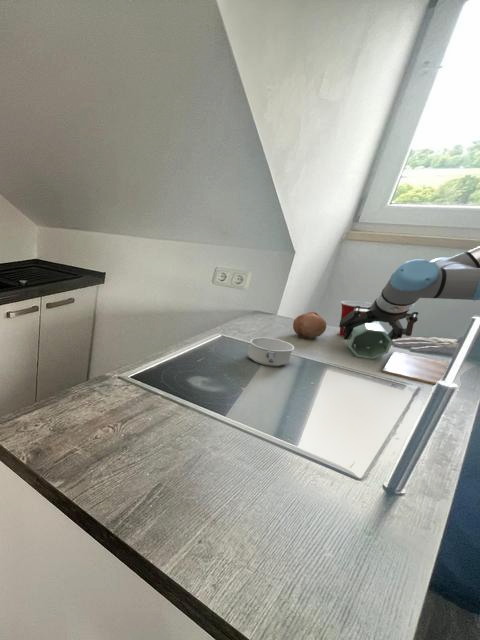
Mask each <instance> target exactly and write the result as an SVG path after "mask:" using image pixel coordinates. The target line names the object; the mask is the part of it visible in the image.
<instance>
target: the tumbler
mask: <svg viewBox="0 0 480 640" xmlns="http://www.w3.org/2000/svg"><path fill="white" fill-rule="evenodd" d="M346 343H347V346H348V349H349V350H351V353H353V355H354V356H356V358H363V359H370V360H374V359H377V358H379V357H381V356H384V355H387V354H388V353H389V351H390V349H391V347H392V345H393V340H392V339H391V338H390V336H389V332H388V331H387V330H386V329H385V327H384V326H383V325H382V324H381V323H380V321H374V322H371V323H365V324H362V325H360V326H357V327H355V328H353V331H352V333H351V334H350V335H349V337H348V338H347V340H346Z"/></svg>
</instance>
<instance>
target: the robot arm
mask: <svg viewBox="0 0 480 640" xmlns="http://www.w3.org/2000/svg"><path fill="white" fill-rule="evenodd" d="M419 299H438V300H439V299H440V300H441V299H442V300H464V301H465V300H467V301H474V302H475V301H480V246H477V247H475V248H473V249H469V250H466V251H464V252H461V253H459V254H456V255H453V256H450V257H437V258H434V259H432V260H430V261H429V260H426V259H420V258H418V259H412V260H408V261H405V262H404V263H402V264H401V265H400V266H399V267H398V268H397V269H396V270H395V271H394V272H393V273H392V274H391V276H390V278H389V279H388V281H387V283H386V284H385V286H384V287H383V288H382V289H381V291H380V293H379V294H378V295H377V297H376V298H375V300H374V301H373V303H372V306H371V307H369V308H367V309H360V306H355V309H354V310H353V311H352V312H350V313H349V314H348V315H346V316H345V317H344V318H342V319H341V318H340V320H339V326H338V327H339V328H340V327H341V328H342V327H344V329H343V332H344V333H345V335H344V336H343V340H345V341H347V338H348V337H349V335H350V334H351V333H352V331H353V328H355V327H357V326H360V325H362V324H365V323H371V322H382V323H387V324H388V325H389V326H391V328H392V329H391V331H389V332H388V334H389V336H390V338H391V339H392V341H393V340H398V339H402V338H403V337H402V336H403V335H405V336H406V337H411V336H412V333H413V329H414V324H415V323H416V322H417V321H418V319H419V312H418V311H413V312H411V313H408V312H409V311H410V310H411V308H412V307H414V305H415V304H416V303H417V302H418V301H419ZM364 313H366V314H364ZM362 314H364V315H362ZM361 315H362V316H361ZM358 316H359V317H358ZM404 319H405V320H406V322H407V324H406V328H404V327H403V325H402V323H401V320H404Z"/></svg>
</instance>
